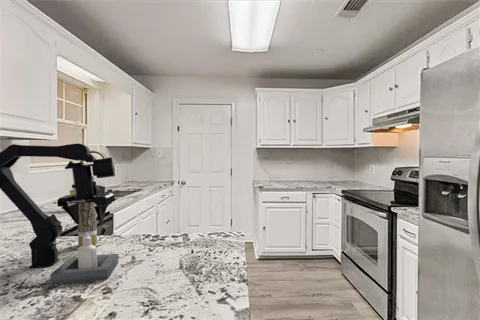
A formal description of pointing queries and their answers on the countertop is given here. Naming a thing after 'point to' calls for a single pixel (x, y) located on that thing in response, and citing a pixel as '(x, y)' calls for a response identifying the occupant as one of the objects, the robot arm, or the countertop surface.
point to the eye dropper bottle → (87, 253)
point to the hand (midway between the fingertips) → (89, 223)
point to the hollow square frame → (85, 270)
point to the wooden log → (87, 222)
